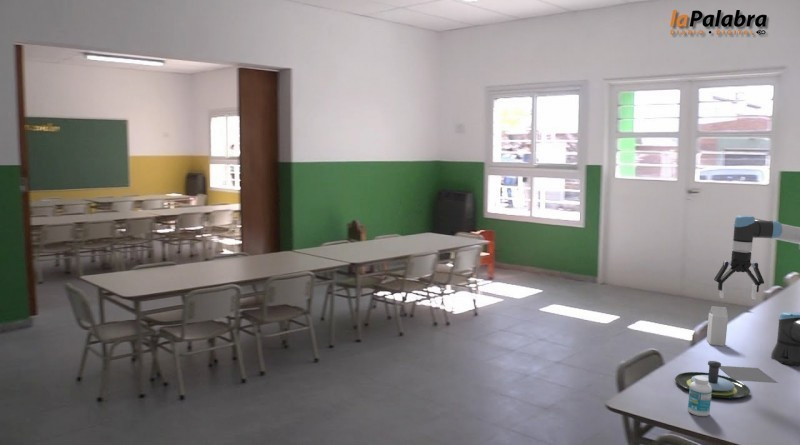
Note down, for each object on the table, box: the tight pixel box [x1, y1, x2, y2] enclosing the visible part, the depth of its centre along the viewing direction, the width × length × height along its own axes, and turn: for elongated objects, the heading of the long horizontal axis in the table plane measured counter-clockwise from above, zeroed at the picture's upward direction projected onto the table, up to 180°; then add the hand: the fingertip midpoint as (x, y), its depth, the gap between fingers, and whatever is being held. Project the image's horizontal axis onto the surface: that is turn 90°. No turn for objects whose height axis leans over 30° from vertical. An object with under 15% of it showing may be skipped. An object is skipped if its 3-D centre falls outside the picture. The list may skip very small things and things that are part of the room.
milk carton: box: [706, 306, 729, 347], centre depth 324 cm, size 7×7×19 cm
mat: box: [719, 365, 778, 384], centre depth 280 cm, size 18×18×1 cm
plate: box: [674, 371, 751, 399], centre depth 264 cm, size 28×28×2 cm
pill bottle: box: [687, 376, 713, 417], centre depth 237 cm, size 8×7×14 cm
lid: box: [691, 360, 735, 392], centre depth 263 cm, size 16×16×9 cm
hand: (737, 298), depth 282 cm, fingers open, 13 cm apart
